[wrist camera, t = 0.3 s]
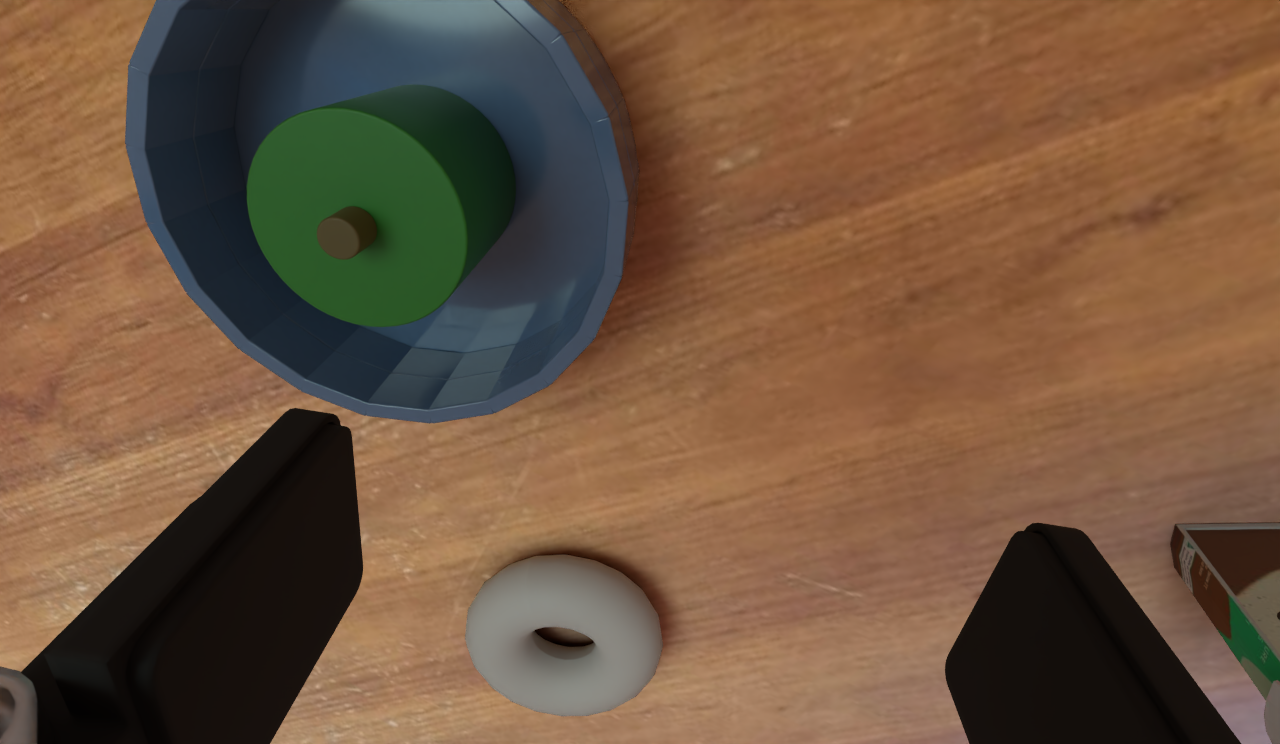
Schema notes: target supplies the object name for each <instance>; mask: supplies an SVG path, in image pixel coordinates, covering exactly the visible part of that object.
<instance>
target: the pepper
mask: <svg viewBox="0 0 1280 744" xmlns="http://www.w3.org/2000/svg"><path fill="white" fill-rule="evenodd" d="M515 195H516V184H515V174H514V169H513V165H512V161H511V158H510V155H509V153H508V150H507V148H506V146H505V144H504V142H503V140H502V138H501V137H500V135H499V133H498V132H497V130H496V129H495V128H494V127H493V125H492V124H491V123H490V121H489V120H488V119H487V118H486V117H485V116H484V115H483V114H482V113H481V112H480V111H479V110H477V109H476V108H475V107H474V106H473V105H471V104H470V103H469V102H467V101H465V100H464V99H462V98H461V97H459V96H457V95H455V94H453V93H451V92H448V91H446V90H443V89H440V88H436V87H432V86H426V85H402V86H397V87H393V88H389V89H386V90H382V91H378V92H374V93H371V94H367V95H363V96H359V97H356V98H352V99H348V100H345V101H341V102H337V103H333V104H330V105H326V106H322V107H319V108H315V109H311V110H307V111H304V112H300V113H298V114H296V115H294V116H292V117H289V118H288V119H286V120H285V121H283V122H282V123H280V124H279V125H277V126H276V127H275V128H274V129H273V130H272V131H271V132H270V133H269V134H268V135H267V136H266V137H265V139H264V140H263V142H262V143H261V144H260V146H259V148H258V150H257V152H256V154H255V156H254V158H253V160H252V164H251V167H250V170H249V175H248V181H247V206H248V214H249V218H250V222H251V226H252V229H253V232H254V234H255V237H256V240H257V242H258V244H259V246H260V248H261V250H262V252H263V254H264V256H265V257H266V259H267V260H268V262H269V263H270V265H271V266H272V268H273V269H274V270H275V272H276V273H277V274H278V275H279V277H280V278H281V279H282V280H283V281H284V282H285V283H286V284H287V285H288V286H289V287H290V288H291V289H292V290H293V291H294V292H295V293H296V294H298V295H299V296H300V297H301V298H302V299H304V300H305V301H307V302H308V303H310V304H311V305H312V306H314V307H315V308H317V309H319V310H321V311H323V312H325V313H326V314H328V315H330V316H333V317H335V318H338V319H340V320H343V321H346V322H350V323H353V324H357V325H363V326H369V327H393V326H400V325H405V324H409V323H412V322H415V321H417V320H420V319H422V318H424V317H426V316H428V315H430V314H431V313H433V312H434V311H435V310H437V309H438V308H439V307H441V306H442V305H443V304H444V303H445V302H446V301H447V300H448V299H449V297H450V296H451V295H452V294H453V293H454V292H455V290H456V289H457V288H458V287H459V286H460V284H461V283H462V282H463V281H464V280H465V278H466V277H467V276H468V275H469V274H470V273H471V271H472V270H473V269H474V268H475V267H476V265H477V264H478V263H479V262H480V261H481V259H482V258H483V257H484V256H485V255H486V253H487V252H488V251H489V250H490V249H491V248H492V246H493V245H494V244H495V243H496V242H497V240H498V239H499V238H500V236H501V235H502V234H503V232H504V231H505V229H506V227H507V225H508V223H509V221H510V218H511V216H512V213H513V209H514V204H515Z"/></svg>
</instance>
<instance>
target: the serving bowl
mask: <svg viewBox="0 0 1280 744" xmlns="http://www.w3.org/2000/svg"><path fill="white" fill-rule="evenodd" d="M129 63H130V64H129V65H128V87H127V111H126V135H125V144H126V149H127V153H128V157H129V160H130V164H131V168H132V172H133V175H134V179H135V183H136V187H137V190H138V194H139V198H140V202H141V205H142V209H143V213H144V217H145V220H146V222H147V225H148V227H149V229H150V230H151V232H152V234H153V236H154V237H155V239H156V241H157V243H158V244H159V246H160V248H161V250H162V251H163V253H164V255H165V257H166V258H167V260H168V262H169V264H170V265H171V267H172V269H173V271H174V272H175V274H176V276H177V278H178V279H179V281H180V283H181V285H182V286H183V288H184V290H185V291H186V292H187V295H188V296H189V297H190V298H191V299H192V300H193V301H194V302H195V303H196V304H197V305H198V306H199V307H200V308H201V310H202V311H203V312H204V313H205V314H206V315H207V316H208V317H209V318H210V319H211V320H212V321H213V322H214V323H215V324H216V326H217V327H218V328H219V329H220V330H221V331H222V332H223V333H224V334H225V335H226V336H227V337H228V338H229V339H230V341H231V342H232V343H233V344H234V345H235V346H236V347H237V348H238V349H240V350H241V351H242V352H244V353H245V354H247V355H248V356H250V357H251V358H253V359H254V360H256V361H257V362H259V363H260V364H262V365H263V366H264V367H266V368H267V369H269V370H270V371H272V372H273V373H275V374H276V375H278V376H279V377H281V378H282V379H284V380H285V381H287V382H288V383H290V384H291V385H293V386H294V387H296V388H297V389H299V390H301V391H302V392H304V393H307V394H309V395H312V396H315V397H317V398H320V399H322V400H325V401H328V402H330V403H333V404H335V405H338V406H341V407H343V408H346V409H349V410H351V411H354V412H356V413H359V414H362V415H364V416H366V415H367V416H372V417H380V418H389V419H397V420H406V421H414V422H423V423H438V422H445V421H451V420H457V419H463V418H470V417H476V416H482V415H488V414H493V413H496V412H498V411H500V410H502V409H504V408H506V407H508V406H510V405H512V404H514V403H516V402H518V401H520V400H522V399H524V398H526V397H528V396H530V395H532V394H534V393H536V392H538V391H540V390H542V389H544V388H546V387H548V386H549V385H550V384H552V383H553V382H554V381H555V380H556V379H557V378H558V377H559V376H560V375H561V374H562V373H563V372H564V371H565V370H566V369H567V367H568V366H569V365H570V364H571V363H572V362H573V361H574V360H575V359H576V358H577V357H578V356H579V355H580V354H581V353H582V352H583V351H584V350H585V349H586V348H587V347H588V346H589V345H590V344H591V343H592V341H593V340H594V339H595V337H596V335H597V333H598V331H599V328H600V326H601V324H602V322H603V319H604V317H605V315H606V313H607V310H608V308H609V306H610V304H611V301H612V299H613V297H614V295H615V293H616V290H617V288H618V286H619V284H620V281H621V279H622V276H623V272H624V268H625V265H626V261H627V257H628V253H629V249H630V246H631V242H632V238H633V234H634V225H635V214H636V206H637V199H638V181H639V164H638V160H637V155H636V145H635V140H634V136H633V131H632V127H631V123H630V118H629V114H628V111H627V109H626V105H625V100H624V98H623V95H622V93H621V91H620V89H619V87H618V84H617V82H616V80H615V78H614V76H613V74H612V73H611V71H610V69H609V67H608V65H607V63H606V61H605V59H604V57H603V55H602V54H601V52H600V51H599V49H598V48H597V46H596V45H595V44H594V42H593V41H592V39H591V38H590V36H589V34H588V32H587V31H586V30H585V29H584V27H583V26H582V25H581V24H580V23H579V22H578V21H577V20H576V19H575V17H574V16H573V15H572V14H571V13H570V12H569V11H568V9H567V8H566V7H565V6H564V5H563V4H562V3H561V2H560V1H559V0H156V2H155V4H154V7H153V9H152V11H151V14H150V16H149V18H148V21H147V23H146V25H145V27H144V30H143V32H142V34H141V37H140V39H139V41H138V44H137V46H136V48H135V51H134V53H133V55H132V58H131V60H130V62H129ZM402 85H426V86H432V87H436V88H440V89H443V90H446V91H448V92H451V93H453V94H455V95H457V96H459V97H461V98H462V99H464V100H465V101H467V102H469V103H470V104H471V105H473V106H474V107H475V108H476V109H477V110H479V111H480V112H481V113H482V114H483V115H484V116H485V117H486V118H487V119H488V120H489V121H490V123H491V124H492V125H493V127H494V128H495V129H496V130H497V132H498V133H499V135H500V137H501V138H502V140H503V142H504V144H505V146H506V148H507V150H508V153H509V155H510V158H511V161H512V165H513V169H514V174H515V184H516V195H515V204H514V209H513V213H512V216H511V218H510V221H509V223H508V225H507V227H506V229H505V231H504V232H503V234H502V235H501V236H500V238H499V239H498V240H497V242H496V243H495V244H494V245H493V246H492V248H491V249H490V250H489V251H488V252H487V253H486V255H485V256H484V257H483V258H482V259H481V261H480V262H479V263H478V264H477V265H476V267H475V268H474V269H473V270H472V271H471V273H470V274H469V275H468V276H467V277H466V278H465V280H464V281H463V282H462V283H461V284H460V286H459V287H458V288H457V289H456V290H455V292H454V293H453V294H452V295H451V296H450V297H449V299H448V300H447V301H446V302H445V303H444V304H443V305H442V306H441V307H439V308H438V309H437V310H435V311H434V312H433V313H431V314H430V315H428V316H426V317H424V318H422V319H420V320H417V321H415V322H412V323H409V324H405V325H400V326H393V327H369V326H363V325H357V324H353V323H350V322H346V321H343V320H340V319H338V318H335V317H333V316H330V315H328V314H326V313H325V312H323V311H321V310H319V309H317V308H315V307H314V306H312V305H311V304H310V303H308V302H307V301H305V300H304V299H302V298H301V297H300V296H299V295H298V294H296V293H295V292H294V291H293V290H292V289H291V288H290V287H289V286H288V285H287V284H286V283H285V282H284V281H283V280H282V279H281V278H280V277H279V275H278V274H277V273H276V272H275V270H274V269H273V268H272V266H271V265H270V263H269V262H268V260H267V259H266V257H265V256H264V254H263V252H262V250H261V248H260V246H259V244H258V242H257V240H256V237H255V234H254V232H253V229H252V226H251V222H250V218H249V214H248V206H247V181H248V175H249V170H250V167H251V164H252V160H253V158H254V156H255V154H256V152H257V150H258V148H259V146H260V144H261V143H262V142H263V140H264V139H265V137H266V136H267V135H268V134H269V133H270V132H271V131H272V130H273V129H274V128H275V127H276V126H277V125H279V124H280V123H282V122H283V121H285V120H286V119H288V118H289V117H292V116H294V115H296V114H298V113H300V112H304V111H307V110H311V109H315V108H319V107H322V106H326V105H330V104H333V103H337V102H341V101H345V100H348V99H352V98H356V97H359V96H363V95H367V94H371V93H374V92H378V91H382V90H386V89H389V88H393V87H397V86H402Z"/></svg>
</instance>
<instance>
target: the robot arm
mask: <svg viewBox="0 0 1280 744" xmlns="http://www.w3.org/2000/svg"><path fill="white" fill-rule="evenodd" d="M362 573H363V560H362V548H361V536H360V525H359V513H358V502H357V490H356V479H355V467H354V456H353V444H352V435H351V431H350V429H349V428H348V427H345V426H341V425H340V420H339V419H338V417H337V416H336V415H334V414H330V413H323V412H317V411H310V410H304V409H297V408H293V409H290V410H288V411H287V412H285V413H284V414H283V415H282V416H281V417H280V418H279V419H278V420H277V421H276V422H275V423H274V424H273V425H272V426H271V427H270V428H269V429H268V430H267V431H266V432H265V433H264V434H263V435H262V436H261V437H260V438H259V439H258V440H257V441H256V442H255V443H254V444H253V445H252V446H251V447H250V448H249V449H248V450H247V451H246V452H245V453H244V454H243V455H242V456H241V457H240V458H239V459H238V460H237V461H236V462H235V463H234V464H233V465H232V466H231V467H230V468H229V469H228V470H227V471H226V472H225V473H224V474H223V475H222V476H221V477H220V478H219V479H218V480H217V481H216V482H215V483H214V484H213V485H212V486H211V487H210V488H209V489H208V490H207V491H206V492H205V493H204V494H203V495H202V496H201V497H199V498H198V499H197V500H195V501H194V502H193V503H191V504H190V505H189V506H188V507H187V508H186V509H185V510H184V511H183V512H182V513H181V514H180V515H179V516H178V517H177V518H176V519H175V520H174V521H173V522H172V523H171V524H170V525H169V526H168V527H167V528H166V529H165V530H164V531H163V532H162V533H161V534H160V535H159V536H158V537H157V538H156V539H155V540H154V541H153V542H152V543H151V544H150V545H149V546H148V547H147V548H146V549H145V550H144V551H143V552H142V553H141V554H140V555H139V556H138V557H137V558H136V559H135V560H134V561H133V562H132V563H131V564H130V565H129V566H128V567H127V568H126V569H125V570H124V571H123V572H122V573H121V574H119V575H118V576H117V577H116V578H115V579H114V580H113V581H112V582H111V583H110V584H109V585H108V586H107V587H106V588H105V589H104V590H103V591H102V592H101V593H100V594H99V595H98V596H97V597H96V598H95V599H94V600H93V601H92V602H91V603H90V604H89V605H88V606H87V607H86V608H85V609H84V610H83V611H82V612H81V613H80V614H79V615H78V616H77V617H76V618H75V619H74V620H73V621H72V622H71V623H70V624H69V625H68V626H67V627H66V628H65V629H64V630H63V631H62V632H61V633H60V634H59V635H58V636H57V637H56V638H55V639H54V640H53V641H52V642H51V643H50V644H49V645H48V646H47V647H46V648H45V649H44V650H43V651H42V652H41V653H40V654H39V655H38V656H37V657H36V658H35V659H34V660H33V661H32V662H31V663H30V664H29V665H28V666H27V667H26V668H25V669H24V670H23V671H22V672H20V671H16V670H12V669H8V668H4V667H0V744H270V743H271V741H272V739H273V737H274V736H275V734H276V732H277V730H278V729H279V727H280V725H281V723H282V722H283V720H284V718H285V717H286V715H287V713H288V711H289V710H290V708H291V706H292V704H293V703H294V701H295V699H296V697H297V696H298V694H299V692H300V690H301V689H302V687H303V685H304V683H305V682H306V680H307V678H308V676H309V675H310V673H311V671H312V669H313V668H314V666H315V664H316V662H317V661H318V659H319V657H320V656H321V654H322V652H323V650H324V649H325V647H326V645H327V643H328V642H329V640H330V638H331V636H332V635H333V633H334V631H335V629H336V628H337V626H338V624H339V622H340V621H341V619H342V617H343V615H344V614H345V612H346V610H347V608H348V607H349V605H350V603H351V602H352V600H353V598H354V596H355V595H356V592H357V590H358V588H359V585H360V583H361V579H362ZM945 675H946V681H947V684H948V687H949V690H950V693H951V695H952V698H953V701H954V703H955V706H956V709H957V711H958V714H959V717H960V719H961V722H962V725H963V728H964V730H965V733H966V736H967V738H968V741H969V744H1241V743H1240V741H1239V740H1238V739H1237V737H1236V736H1235V735H1234V733H1233V732H1232V731H1231V729H1230V728H1229V727H1228V725H1227V724H1226V722H1225V721H1224V720H1223V718H1222V717H1221V716H1220V714H1219V713H1218V712H1217V710H1216V709H1215V708H1214V706H1213V705H1212V704H1211V702H1210V701H1209V700H1208V698H1207V697H1206V695H1205V694H1204V693H1203V691H1202V690H1201V689H1200V687H1199V686H1198V685H1197V683H1196V682H1195V681H1194V679H1193V678H1192V677H1191V675H1190V674H1189V673H1188V671H1187V670H1186V668H1185V667H1184V666H1183V664H1182V663H1181V662H1180V660H1179V659H1178V658H1177V656H1176V655H1175V654H1174V652H1173V651H1172V650H1171V648H1170V647H1169V645H1168V644H1167V643H1166V641H1165V640H1164V639H1163V637H1162V636H1161V635H1160V633H1159V632H1158V631H1157V629H1156V628H1155V627H1154V625H1153V624H1152V623H1151V621H1150V620H1149V618H1148V617H1147V616H1146V614H1145V613H1144V612H1143V610H1142V609H1141V608H1140V606H1139V605H1138V604H1137V602H1136V601H1135V600H1134V598H1133V597H1132V596H1131V594H1130V593H1129V591H1128V590H1127V589H1126V587H1125V586H1124V585H1123V583H1122V582H1121V581H1120V579H1119V578H1118V577H1117V575H1116V574H1115V573H1114V571H1113V570H1112V569H1111V567H1110V566H1109V564H1108V563H1107V562H1106V560H1105V559H1104V558H1103V556H1102V555H1101V554H1100V552H1099V551H1098V550H1097V548H1096V547H1095V546H1094V544H1093V543H1092V542H1091V540H1090V539H1089V537H1088V536H1087V535H1086V534H1085V533H1084V532H1083V531H1081V530H1078V529H1075V528H1068V527H1062V526H1056V525H1049V524H1043V523H1032V524H1031V525H1029V526H1028V527H1027V528H1026V529H1025V530H1024V531H1018V532H1017V533H1015V534H1014V535H1013V537H1012V538H1011V540H1010V541H1009V543H1008V545H1007V547H1006V549H1005V551H1004V553H1003V554H1002V556H1001V558H1000V560H999V562H998V564H997V565H996V567H995V569H994V571H993V573H992V575H991V577H990V578H989V580H988V582H987V584H986V586H985V588H984V590H983V591H982V593H981V595H980V597H979V599H978V601H977V602H976V604H975V606H974V608H973V610H972V612H971V614H970V615H969V617H968V619H967V621H966V623H965V625H964V627H963V628H962V630H961V632H960V634H959V636H958V638H957V640H956V641H955V643H954V645H953V647H952V649H951V651H950V652H949V654H948V657H947V659H946V665H945Z"/></svg>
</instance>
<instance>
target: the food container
mask: <svg viewBox="0 0 1280 744" xmlns="http://www.w3.org/2000/svg"><path fill="white" fill-rule="evenodd" d="M1171 550H1172V556H1173V563H1174V568H1175V569H1176V570H1177V572H1178V573H1179V575H1180V576H1181V578H1182V579H1183V581H1184V582H1185V584H1186V585H1187V586H1188V588H1189V589H1190V591H1191V592H1192V594H1193V595H1194V597H1195V598H1196V600H1197V601H1198V603H1199V604H1200V605H1201V607H1202V608H1203V610H1204V611H1205V613H1206V614H1207V616H1208V617H1209V619H1210V620H1211V621H1212V623H1213V624H1214V626H1215V627H1216V629H1217V630H1218V632H1219V633H1220V635H1221V636H1222V637H1223V639H1224V640H1225V642H1226V643H1227V645H1228V646H1229V648H1230V649H1231V651H1232V652H1233V653H1234V655H1235V656H1236V658H1237V659H1238V661H1239V662H1240V664H1241V665H1242V667H1243V668H1244V669H1245V671H1246V672H1247V674H1248V675H1249V677H1250V678H1251V680H1252V681H1253V683H1254V684H1255V686H1256V687H1257V688H1258V690H1259V691H1260V693H1261V694H1262V696H1263V697H1264V699H1265V700H1266V705H1265V712H1264V719H1265V726H1266V732H1267V734H1268V736H1269V738H1270V740H1271V742H1272V744H1280V523H1238V524H1176V525H1175V529H1174V532H1173V536H1172V540H1171Z"/></svg>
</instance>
